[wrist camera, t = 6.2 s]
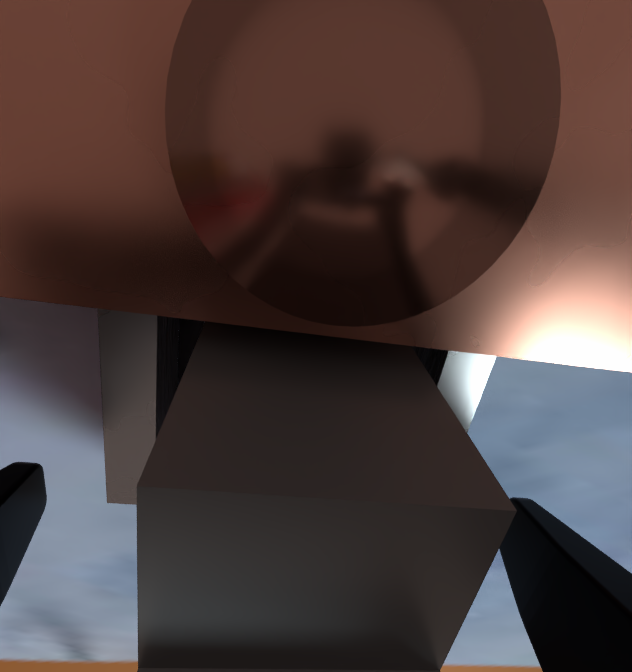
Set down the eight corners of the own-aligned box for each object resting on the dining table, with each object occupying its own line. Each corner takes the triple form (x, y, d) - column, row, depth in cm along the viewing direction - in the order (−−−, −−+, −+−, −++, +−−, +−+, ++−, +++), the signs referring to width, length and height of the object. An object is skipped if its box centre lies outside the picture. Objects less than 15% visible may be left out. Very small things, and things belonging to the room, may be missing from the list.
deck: (648, 78, 8) (934, 28, 5) (483, 470, 12) (568, 607, 9) (-19, -76, 7) (-380, -339, 3) (42, 435, 11) (-80, 587, 7)
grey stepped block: (388, 311, 10) (590, 625, 4) (341, 498, 12) (408, 891, 6) (218, 289, 10) (84, 611, 3) (203, 489, 12) (111, 910, 5)
